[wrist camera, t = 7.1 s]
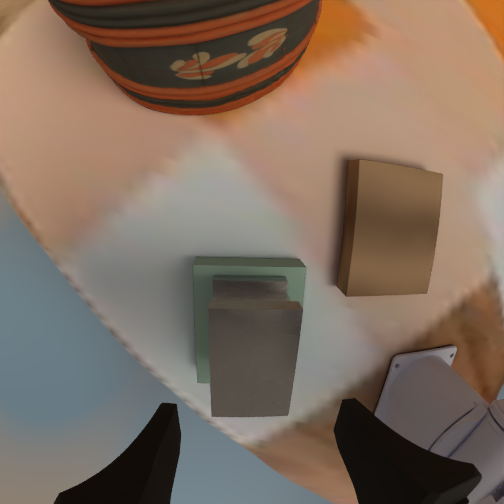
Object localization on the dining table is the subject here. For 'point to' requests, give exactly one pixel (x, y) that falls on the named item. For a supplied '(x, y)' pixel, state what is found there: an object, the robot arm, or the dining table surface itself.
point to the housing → (252, 345)
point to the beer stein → (194, 47)
